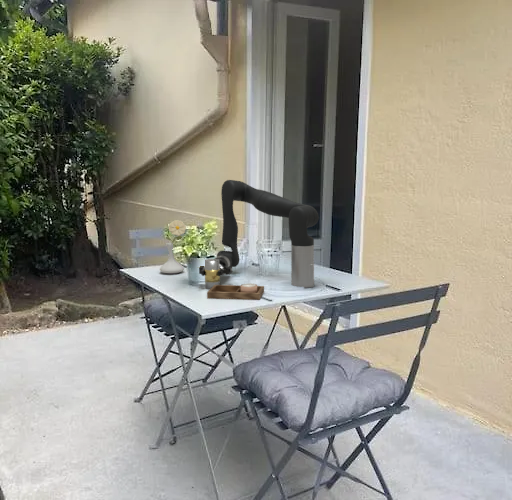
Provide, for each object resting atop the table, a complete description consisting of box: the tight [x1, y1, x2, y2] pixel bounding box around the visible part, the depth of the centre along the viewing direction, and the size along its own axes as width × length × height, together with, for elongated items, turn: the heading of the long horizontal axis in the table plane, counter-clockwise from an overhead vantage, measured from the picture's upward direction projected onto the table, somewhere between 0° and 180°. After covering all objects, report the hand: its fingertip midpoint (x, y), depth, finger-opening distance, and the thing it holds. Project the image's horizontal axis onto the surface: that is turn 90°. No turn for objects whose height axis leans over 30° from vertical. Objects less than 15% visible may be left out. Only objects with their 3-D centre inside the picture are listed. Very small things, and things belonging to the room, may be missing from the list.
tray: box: [206, 284, 265, 301], centre depth 210 cm, size 20×12×3 cm, turn 81°
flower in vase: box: [159, 219, 187, 274], centre depth 254 cm, size 13×11×25 cm
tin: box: [204, 258, 221, 291], centre depth 222 cm, size 6×6×12 cm
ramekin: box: [240, 282, 258, 293], centre depth 209 cm, size 6×6×4 cm
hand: (210, 273), depth 219 cm, fingers closed on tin, 6 cm apart
